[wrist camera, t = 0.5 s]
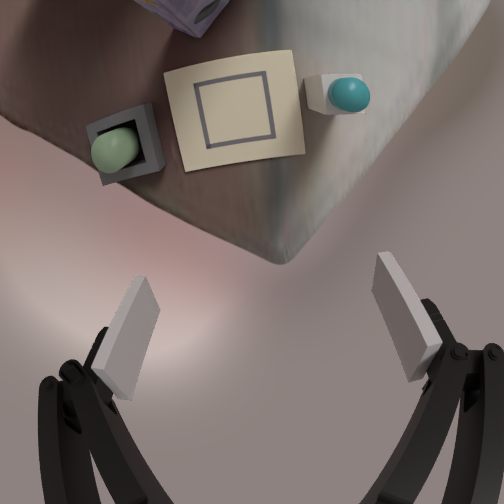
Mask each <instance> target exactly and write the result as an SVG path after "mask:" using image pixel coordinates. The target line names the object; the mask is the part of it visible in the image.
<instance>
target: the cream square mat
mask: <svg viewBox="0 0 504 504" xmlns="http://www.w3.org/2000/svg"><path fill="white" fill-rule="evenodd" d="M163 74H164V79H165V84H166V89H167V94H168V99H169V103H170V108H171V113H172V117H173V122H174V126H175V130H176V135H177V139H178V143H179V148H180V152H181V156H182V160H183V164H184V168H185V172H188V171H193V170H198V169H203V168H208V167H214V166H220V165H226V164H232V163H238V162H244V161H251V160H258V159H265V158H273V157H281V156H290V155H299V154H306V152H305V143H304V134H303V125H302V117H301V109H300V102H299V95H298V88H297V81H296V74H295V68H294V62H293V56H292V50H281V51H271V52H262V53H254V54H247V55H241V56H235V57H229V58H223V59H218V60H213V61H209V62H204V63H200V64H195V65H191V66H187V67H183V68H180V69H176V70H172V71H169V72H165V73H163Z"/></svg>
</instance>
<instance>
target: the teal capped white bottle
mask: <svg viewBox="0 0 504 504" xmlns="http://www.w3.org/2000/svg"><path fill="white" fill-rule="evenodd" d="M304 84H305V91H306V99H307V106H308V109H311V110H314V111H317V112H319V113H322V114H324V115H339V114H366V110H365V108H366V107H367V105H368V104H369V101H370V92H369V89H368V87H367V86H366V84H365V83H364V82H363V79H362V74H321V75H316V76H312V77H308V78H304Z"/></svg>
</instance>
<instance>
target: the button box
mask: <svg viewBox="0 0 504 504" xmlns="http://www.w3.org/2000/svg"><path fill="white" fill-rule="evenodd" d="M133 119H135V121H136V125H137V129H138V133H139V137H140V141H141V145H142V149H143V153H144V156H145V159H144V160H140V161H136V162H133V163H129V164H127V165H125V166H124V167H122V168H121V169H120V170H118V171H116V172H114V173H104V172H102V171H100V170H99V169H98V168H97V169H98V172H99V175H100V178H101V181H102V184H103V186H104V185H107V184H111V183H114V182H118V181H122V180H125V179H129V178H133V177H137V176H141V175H145V174H149V173H153V172H157V171H160V170H161V169H162V168H163V167H164V166H165V165H166V161H165V157H164V153H163V149H162V145H161V141H160V137H159V133H158V129H157V124H156V120H155V116H154V111H153V107H152V103H147V104H142V105H139V106H136V107H133V108H130V109H127V110H124V111H122V112H119V113H116V114H113V115H111V116H108V117H106V118H103V119H101V120H98V121H96V122H93V123H91V124H88V125H86V130H87V134H88V138H89V141H90V145H91V148H92V145H93V143H94V141H95V140H96V138H97V137H99V136H100V135H102V134H104V133H107V132H108V131H107V128H110V127H112V126H115V125H118V124H121V123H124V122H127V121H130V120H133Z"/></svg>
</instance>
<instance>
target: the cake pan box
mask: <svg viewBox="0 0 504 504" xmlns="http://www.w3.org/2000/svg"><path fill="white" fill-rule="evenodd" d="M134 1H135V2H137V3H138V4H140V5H141V6H143V7H144V8H145V9H147V10H148V11H150V12H151V13H153V14H154V15H156V16H158V17H159V18H161V19H162V20H163V21H165V22H166V23H168V24H169V25H170V26H171V27H173V28H175V29H177V30H179V31H182V32H184V33H186V34H189V35H191V36H193V37H196V38H201V37H202V36H203V35H204V33H205V32H206V30H207V29H208V28H209V26H210V25H211V24H212V22H213V21H214V20H215V18H216V17H217V16H218V15H219V13H220V12H221V11H222V10H223V9H224V7H225V6H226V5H227V4H228V3H229V1H230V0H134Z"/></svg>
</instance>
